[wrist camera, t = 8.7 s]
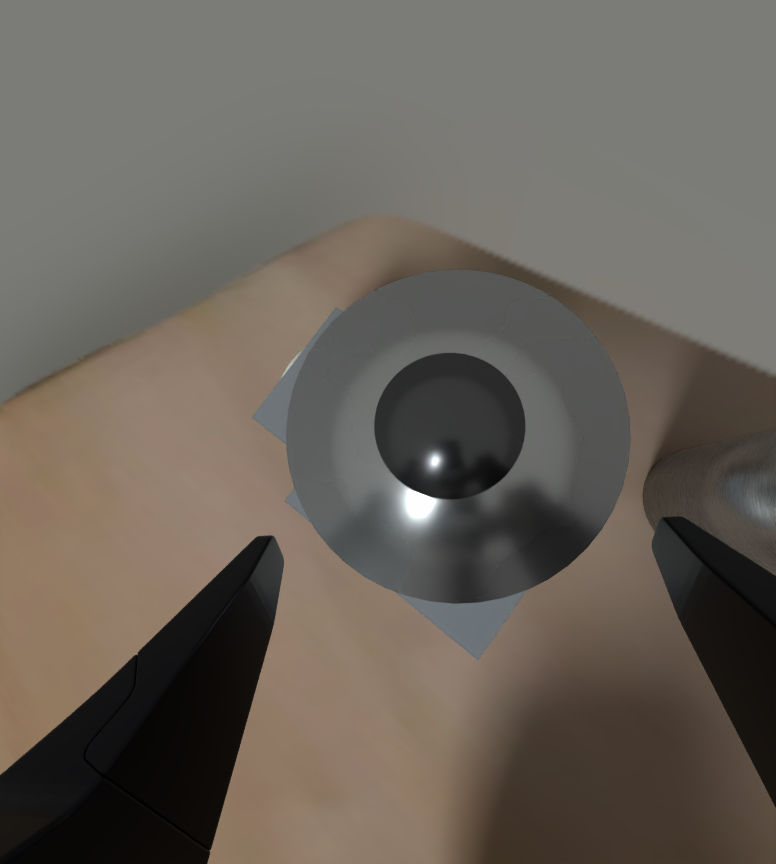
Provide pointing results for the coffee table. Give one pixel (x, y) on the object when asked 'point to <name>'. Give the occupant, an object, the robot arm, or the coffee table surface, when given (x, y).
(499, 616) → the scale
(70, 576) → the coffee table surface
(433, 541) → the silver metal cylinder
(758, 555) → the cylinder
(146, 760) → the robot arm
